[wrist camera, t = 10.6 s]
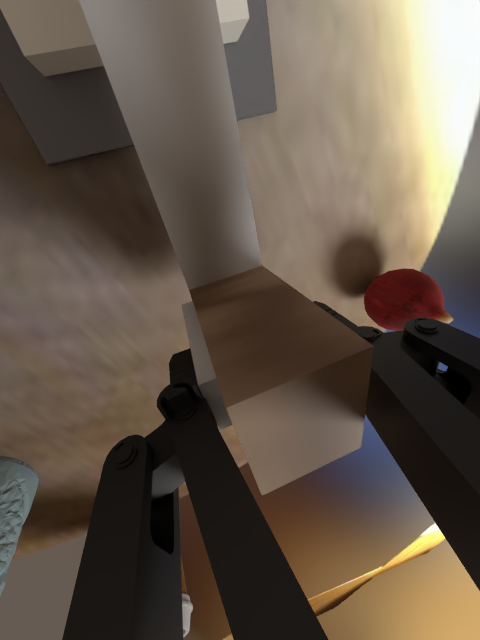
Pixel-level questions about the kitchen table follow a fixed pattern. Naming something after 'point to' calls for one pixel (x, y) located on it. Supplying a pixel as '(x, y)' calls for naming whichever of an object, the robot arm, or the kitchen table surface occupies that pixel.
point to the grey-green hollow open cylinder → (13, 507)
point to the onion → (404, 299)
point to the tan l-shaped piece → (229, 242)
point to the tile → (82, 32)
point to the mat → (100, 101)
